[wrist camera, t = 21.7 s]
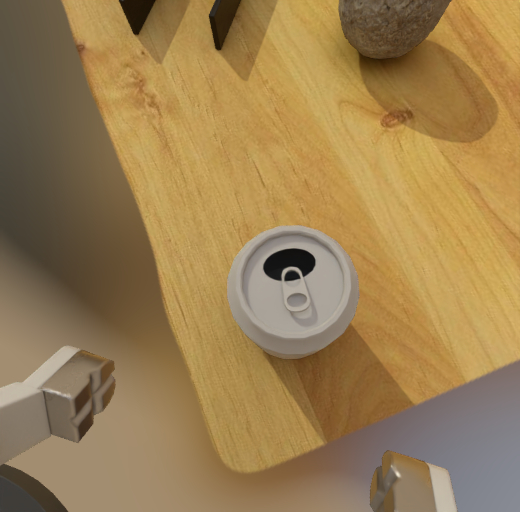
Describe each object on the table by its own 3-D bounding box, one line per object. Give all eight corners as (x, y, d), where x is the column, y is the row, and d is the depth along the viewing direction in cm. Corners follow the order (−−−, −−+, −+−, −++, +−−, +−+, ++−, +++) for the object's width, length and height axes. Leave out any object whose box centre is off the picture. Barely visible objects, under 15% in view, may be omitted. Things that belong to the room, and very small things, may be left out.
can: (324, 263, 32) (347, 202, 20) (344, 351, 29) (382, 339, 18) (239, 277, 32) (213, 225, 20) (252, 366, 29) (231, 365, 18)
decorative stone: (342, 85, 38) (361, -11, 28) (325, 24, 40) (338, -83, 31) (440, 69, 38) (493, -33, 28) (417, 9, 40) (459, -104, 31)
